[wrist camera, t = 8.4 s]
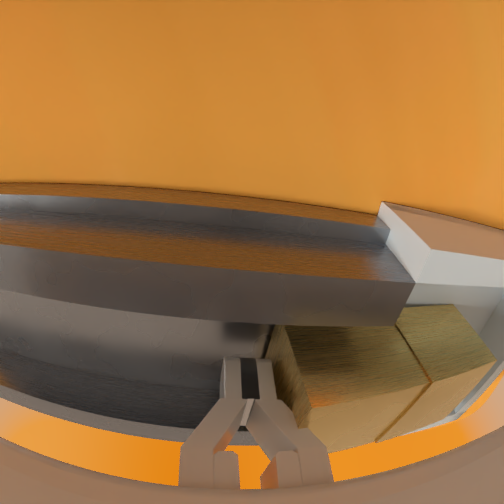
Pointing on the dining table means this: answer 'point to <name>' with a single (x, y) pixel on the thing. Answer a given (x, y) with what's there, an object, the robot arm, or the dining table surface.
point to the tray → (453, 276)
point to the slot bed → (170, 295)
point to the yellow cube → (440, 363)
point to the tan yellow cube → (344, 380)
